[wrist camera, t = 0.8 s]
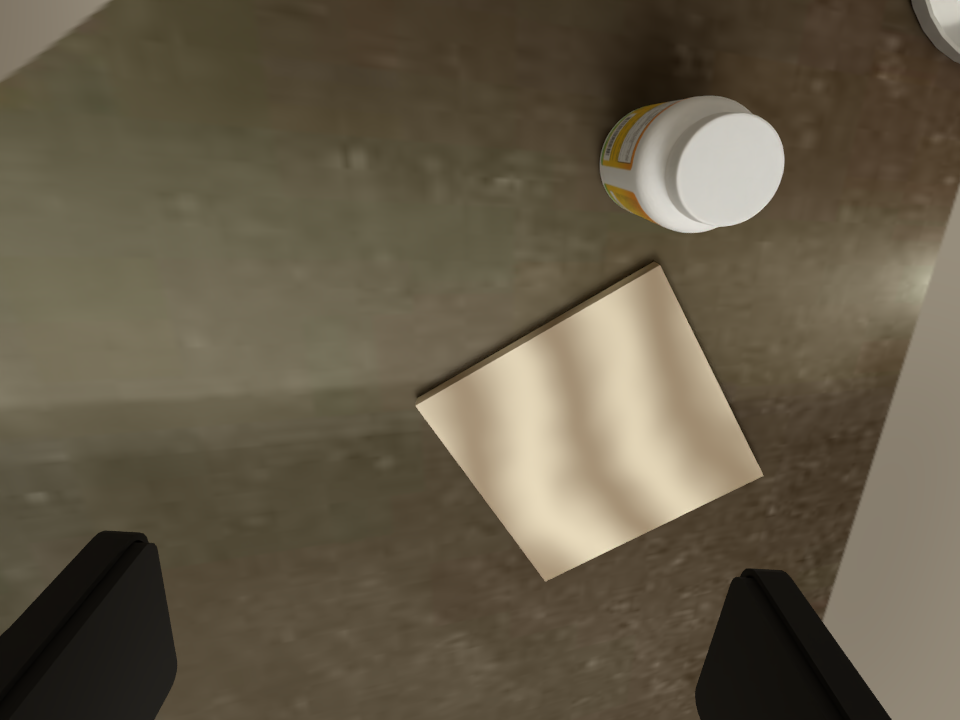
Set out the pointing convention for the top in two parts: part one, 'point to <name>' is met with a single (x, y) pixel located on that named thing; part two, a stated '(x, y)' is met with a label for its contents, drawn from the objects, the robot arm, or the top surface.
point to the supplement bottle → (692, 163)
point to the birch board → (594, 425)
